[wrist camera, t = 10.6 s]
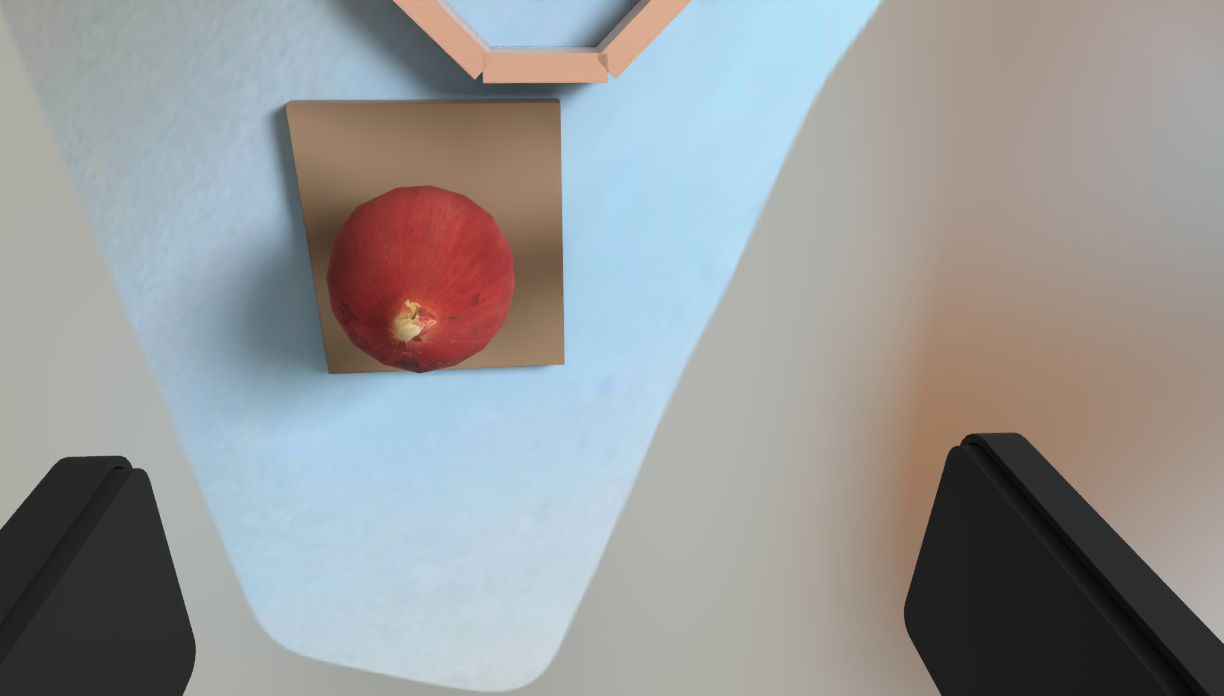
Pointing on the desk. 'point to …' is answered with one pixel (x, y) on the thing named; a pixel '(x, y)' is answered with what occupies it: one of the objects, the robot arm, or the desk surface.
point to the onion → (420, 278)
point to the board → (452, 160)
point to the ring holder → (544, 63)
